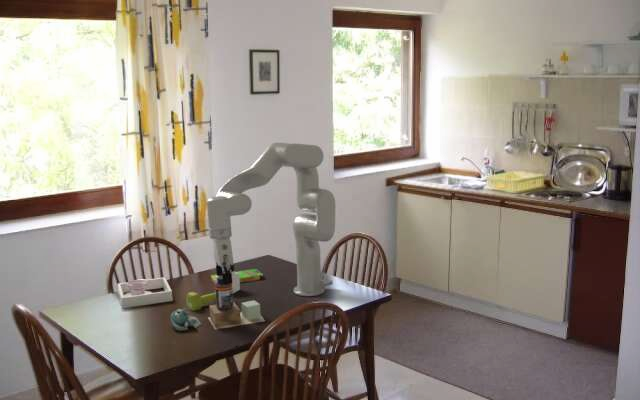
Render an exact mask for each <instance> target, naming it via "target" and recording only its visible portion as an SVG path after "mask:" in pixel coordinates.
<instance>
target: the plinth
mask: <svg viewBox="0 0 640 400" xmlns="http://www.w3.org/2000/svg"><path fill="white" fill-rule="evenodd" d="M208 308H209V317H207V319H208V320H209V323H211V326H212V327H213V328H214V330H219V329H221V330H222V329H226V328H232V327H237V326H239V327H240V326H244V325H249V324H257V323H263V322H266V320H265V319H264V317H263V316H262V315H261V318H256V319H252V320H247V319H245V318H244V317H242V311H241V309H240V308H239V306H238V305H237V304H236V303H235V301H233V307H232V308H230V309H228V310H220V309H218V308H217V306H216V303H215V304H210V305H209V306H208Z"/></svg>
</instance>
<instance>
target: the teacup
mask: <svg viewBox="0 0 640 400" xmlns="http://www.w3.org/2000/svg"><path fill="white" fill-rule="evenodd" d="M147 280H148V279H144V278H143V279H142V278H140V279H139V278H138V279H132V280H130V281H128V283H127V286H128V287H129V289H130V290H131V292H128V293H124V294H123V295H124V297H128V296H135V295H142V294H149V293H153V291H150V290H145V288H146V285H147V282H148V281H147Z"/></svg>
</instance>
